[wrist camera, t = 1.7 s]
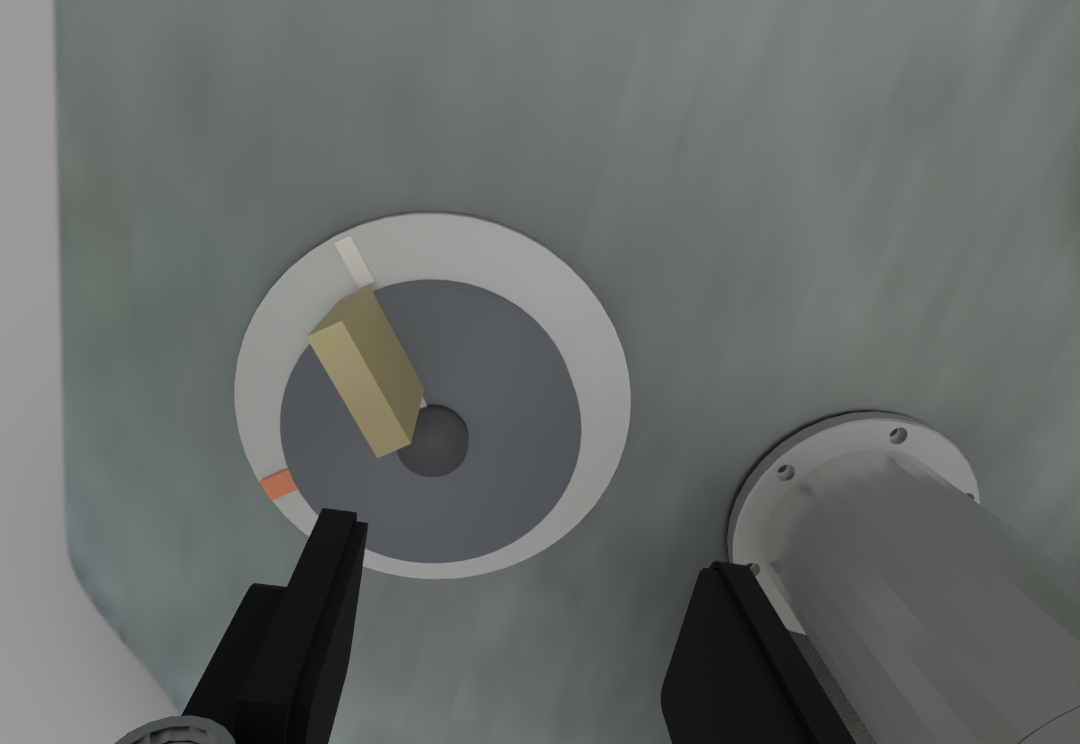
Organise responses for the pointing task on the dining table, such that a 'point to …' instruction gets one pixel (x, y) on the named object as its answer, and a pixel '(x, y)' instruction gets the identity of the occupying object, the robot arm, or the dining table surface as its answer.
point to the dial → (432, 419)
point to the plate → (457, 255)
